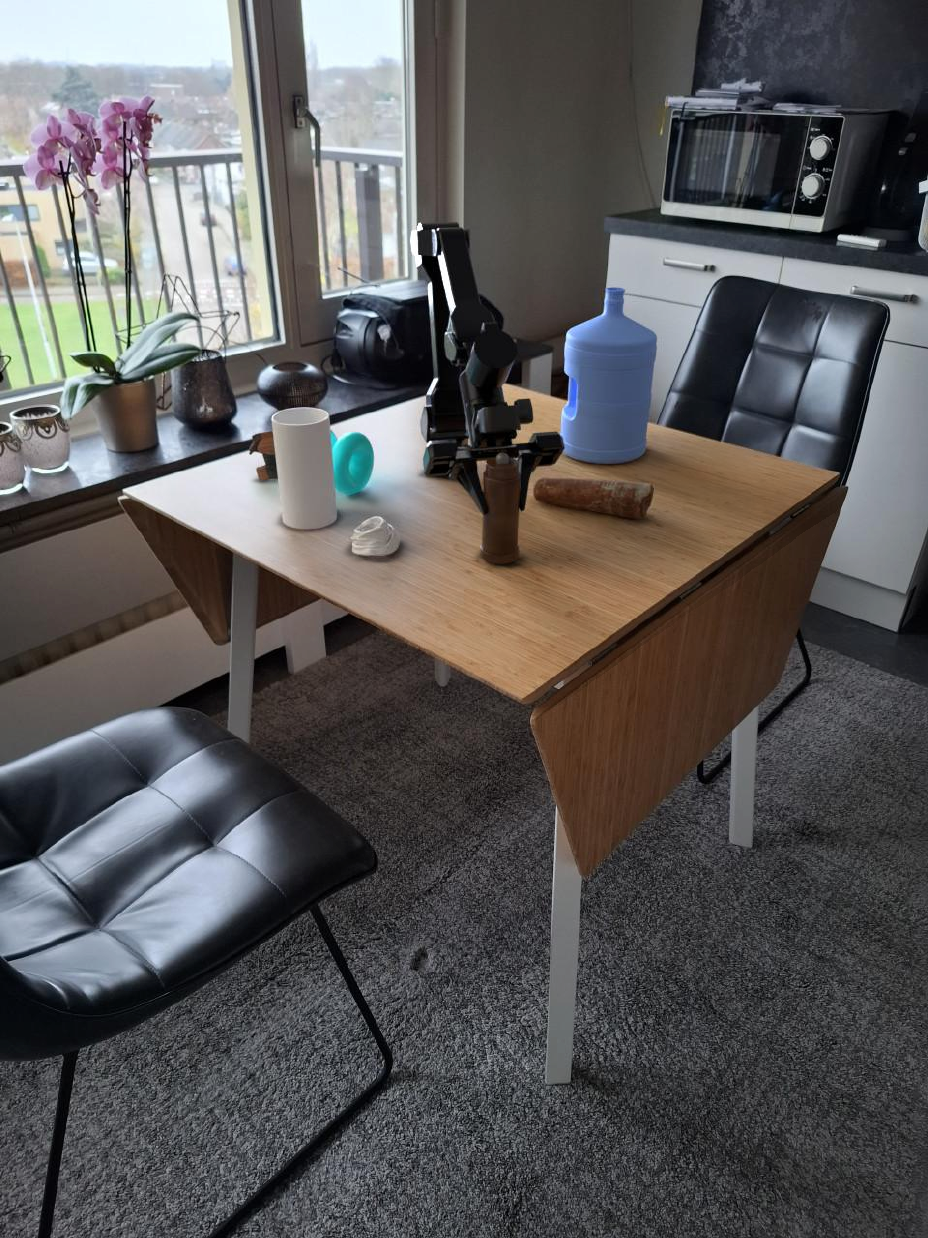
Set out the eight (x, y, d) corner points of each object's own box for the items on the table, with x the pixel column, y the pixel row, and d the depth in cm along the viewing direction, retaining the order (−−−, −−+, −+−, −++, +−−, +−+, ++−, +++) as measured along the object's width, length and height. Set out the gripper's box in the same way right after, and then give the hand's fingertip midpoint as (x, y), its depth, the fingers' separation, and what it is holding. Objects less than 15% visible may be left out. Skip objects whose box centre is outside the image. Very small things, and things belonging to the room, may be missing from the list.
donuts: (343, 505, 139) (338, 444, 134) (293, 492, 143) (287, 433, 138) (379, 484, 146) (376, 425, 141) (330, 473, 151) (325, 416, 146)
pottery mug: (240, 483, 148) (235, 434, 148) (271, 488, 156) (266, 442, 156) (303, 472, 144) (298, 422, 143) (331, 478, 152) (326, 431, 152)
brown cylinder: (645, 527, 132) (649, 492, 129) (527, 505, 139) (528, 472, 136) (656, 511, 137) (660, 477, 134) (541, 491, 144) (543, 458, 141)
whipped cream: (389, 569, 122) (390, 539, 119) (342, 561, 123) (342, 531, 120) (403, 541, 128) (404, 511, 126) (358, 533, 129) (359, 504, 126)
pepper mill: (474, 559, 122) (475, 456, 114) (488, 543, 126) (490, 443, 118) (511, 566, 120) (515, 462, 112) (524, 549, 124) (528, 449, 116)
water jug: (658, 445, 163) (677, 286, 148) (623, 472, 151) (640, 302, 137) (581, 431, 170) (592, 277, 155) (543, 455, 158) (551, 291, 144)
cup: (346, 511, 137) (338, 410, 129) (321, 532, 130) (312, 427, 122) (298, 504, 139) (288, 404, 131) (272, 525, 132) (260, 421, 124)
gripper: (425, 380, 112) (444, 495, 109) (564, 372, 116) (587, 482, 112) (415, 421, 123) (432, 526, 119) (543, 412, 126) (563, 514, 123)
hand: (503, 512), depth 118 cm, fingers closed on pepper mill, 5 cm apart
